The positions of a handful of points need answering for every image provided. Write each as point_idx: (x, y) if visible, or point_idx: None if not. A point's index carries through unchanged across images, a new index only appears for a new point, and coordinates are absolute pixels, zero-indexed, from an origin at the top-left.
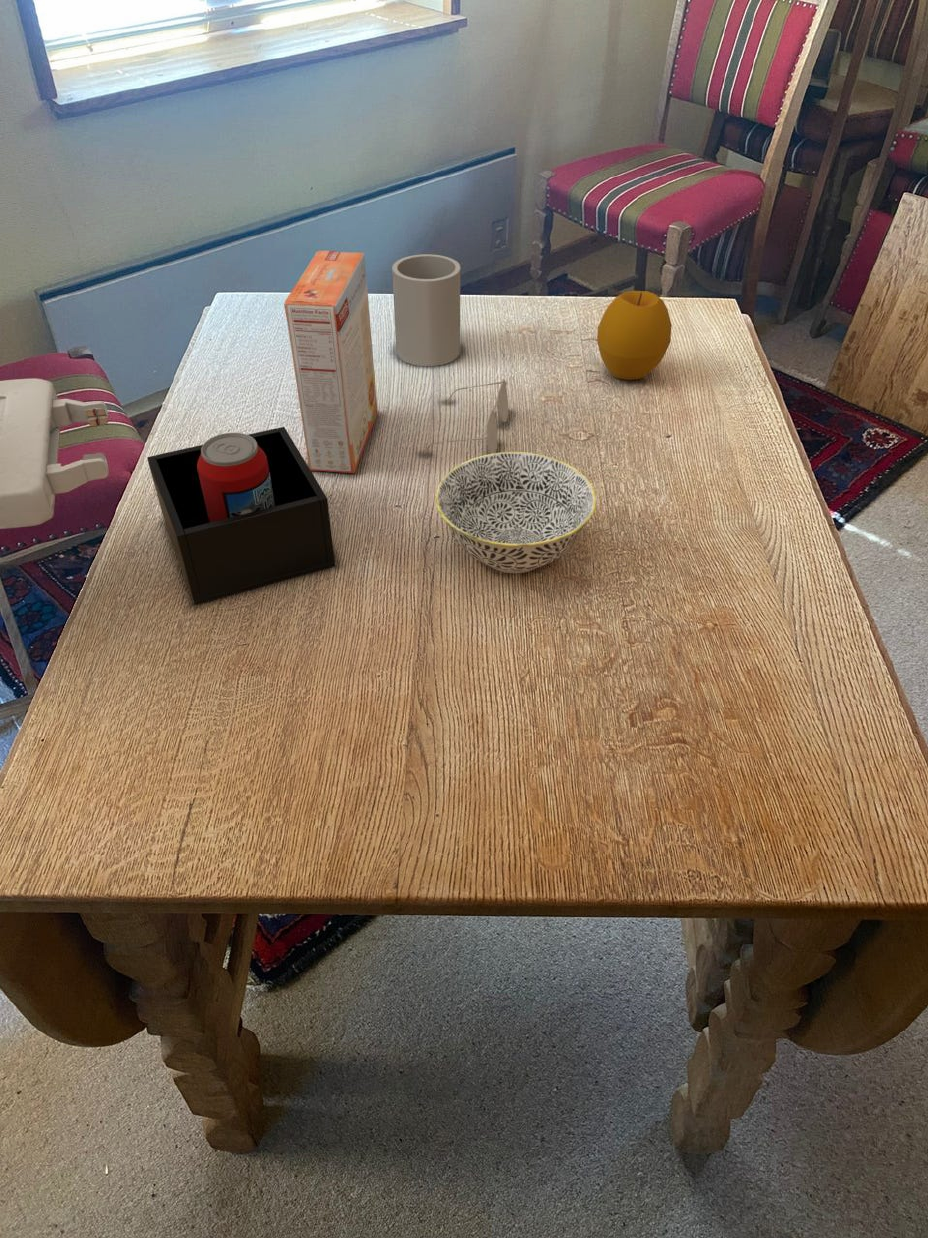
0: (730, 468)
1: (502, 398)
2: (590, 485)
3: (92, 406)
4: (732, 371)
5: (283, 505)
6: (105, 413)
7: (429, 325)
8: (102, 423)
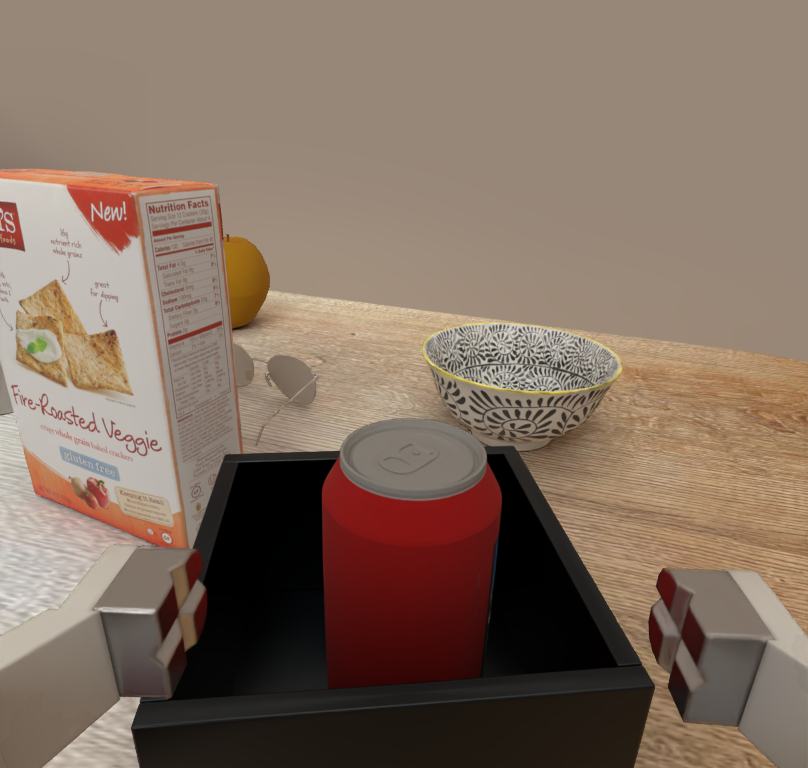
0: (420, 327)
1: (237, 357)
2: (513, 323)
3: (139, 578)
4: (280, 299)
5: (529, 490)
6: (202, 566)
7: None
8: (196, 632)
